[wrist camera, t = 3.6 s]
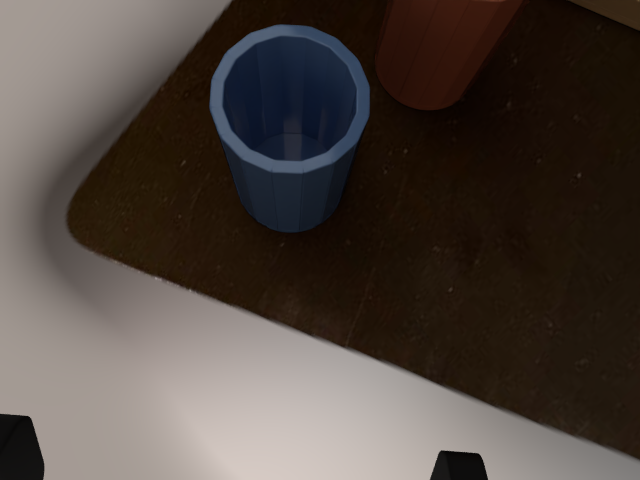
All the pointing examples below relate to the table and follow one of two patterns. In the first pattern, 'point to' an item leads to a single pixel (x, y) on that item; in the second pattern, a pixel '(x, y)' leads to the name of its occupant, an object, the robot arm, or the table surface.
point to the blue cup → (290, 123)
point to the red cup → (439, 47)
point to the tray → (615, 10)
